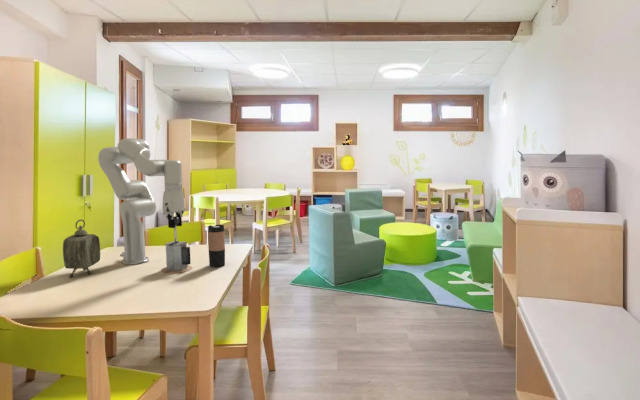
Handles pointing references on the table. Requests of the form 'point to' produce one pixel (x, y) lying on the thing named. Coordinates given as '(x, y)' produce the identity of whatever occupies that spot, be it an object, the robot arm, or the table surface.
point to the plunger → (175, 228)
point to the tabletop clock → (81, 250)
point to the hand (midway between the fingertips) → (175, 226)
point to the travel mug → (216, 246)
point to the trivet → (176, 272)
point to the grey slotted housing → (177, 256)
